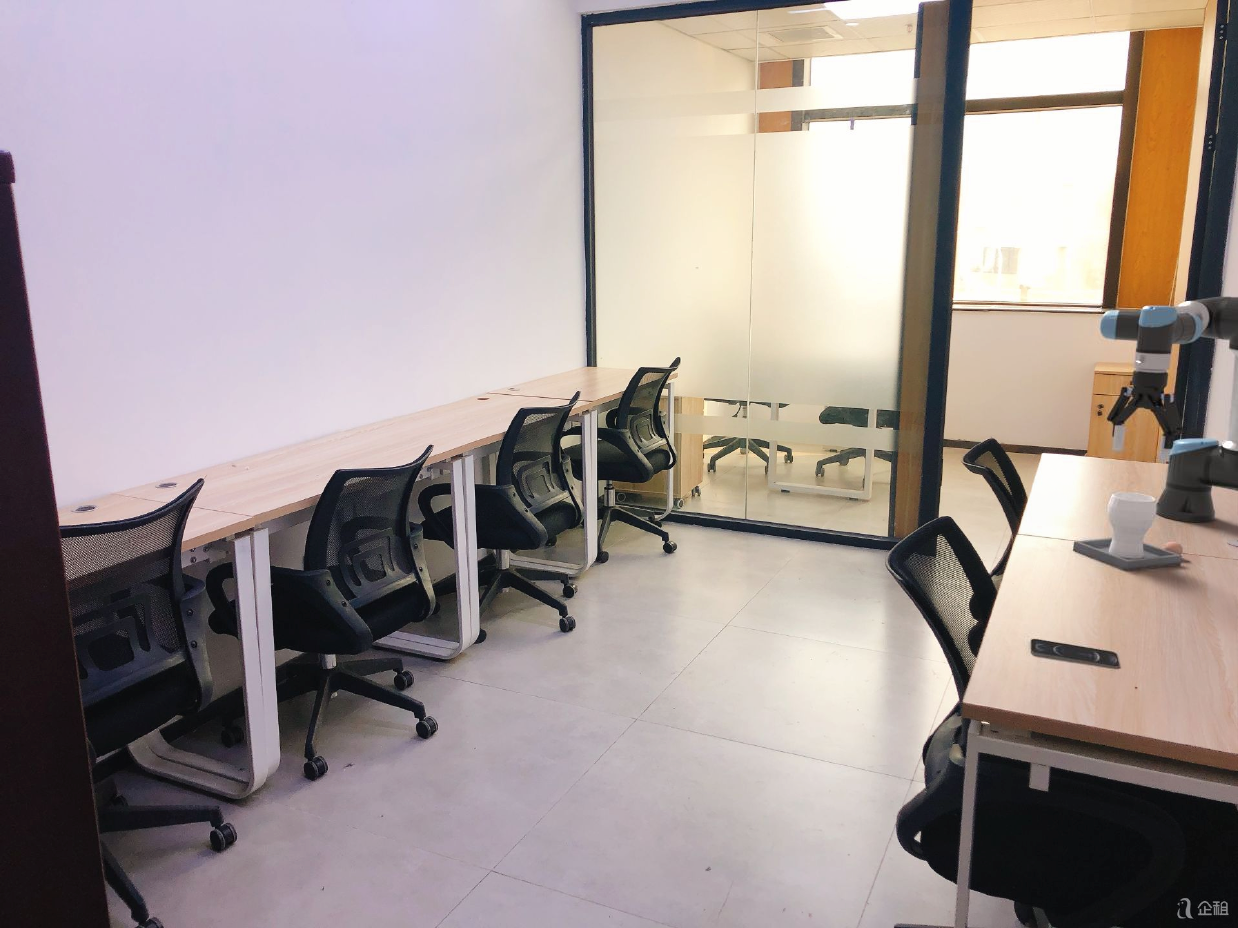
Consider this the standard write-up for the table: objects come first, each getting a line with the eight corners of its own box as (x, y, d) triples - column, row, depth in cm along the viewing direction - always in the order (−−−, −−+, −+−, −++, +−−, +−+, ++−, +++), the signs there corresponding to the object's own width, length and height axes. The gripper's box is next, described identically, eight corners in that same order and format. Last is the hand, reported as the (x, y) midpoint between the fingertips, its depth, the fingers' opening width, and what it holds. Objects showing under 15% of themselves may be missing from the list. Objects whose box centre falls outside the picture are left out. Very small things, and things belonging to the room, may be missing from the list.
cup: (1156, 562, 228) (1164, 503, 224) (1109, 559, 230) (1117, 500, 226) (1141, 549, 238) (1149, 492, 234) (1096, 546, 240) (1104, 490, 236)
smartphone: (1120, 667, 168) (1031, 652, 174) (1119, 671, 169) (1030, 656, 174) (1116, 651, 175) (1030, 637, 181) (1116, 656, 175) (1030, 641, 181)
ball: (1171, 553, 237) (1173, 539, 236) (1185, 558, 233) (1187, 543, 232) (1159, 555, 236) (1161, 540, 235) (1173, 560, 232) (1175, 544, 231)
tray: (1124, 545, 244) (1125, 536, 244) (1180, 564, 228) (1182, 555, 228) (1073, 550, 239) (1074, 541, 239) (1126, 570, 223) (1127, 561, 223)
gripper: (1097, 365, 234) (1088, 447, 239) (1183, 377, 211) (1171, 467, 215) (1121, 364, 236) (1111, 445, 241) (1208, 376, 213) (1195, 465, 218)
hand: (1139, 456), depth 228 cm, fingers open, 13 cm apart
